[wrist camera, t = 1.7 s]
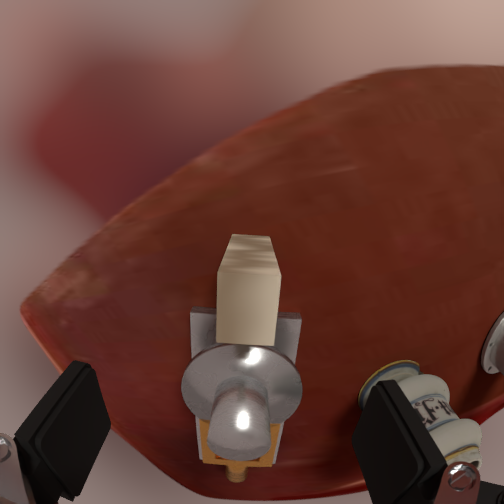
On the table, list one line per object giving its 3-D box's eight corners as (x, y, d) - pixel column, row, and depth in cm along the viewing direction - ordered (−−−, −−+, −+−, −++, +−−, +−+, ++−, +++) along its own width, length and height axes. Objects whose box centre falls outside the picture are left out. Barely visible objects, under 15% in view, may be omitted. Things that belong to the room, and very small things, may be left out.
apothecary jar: (439, 380, 32) (500, 461, 15) (374, 430, 34) (412, 522, 17) (408, 335, 30) (491, 432, 13) (332, 395, 32) (370, 513, 15)
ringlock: (299, 312, 30) (326, 394, 17) (274, 456, 35) (279, 526, 23) (193, 306, 29) (157, 385, 17) (200, 452, 35) (189, 521, 23)
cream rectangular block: (269, 236, 28) (281, 276, 16) (265, 281, 29) (273, 345, 17) (232, 234, 28) (217, 272, 16) (230, 279, 29) (216, 342, 17)
